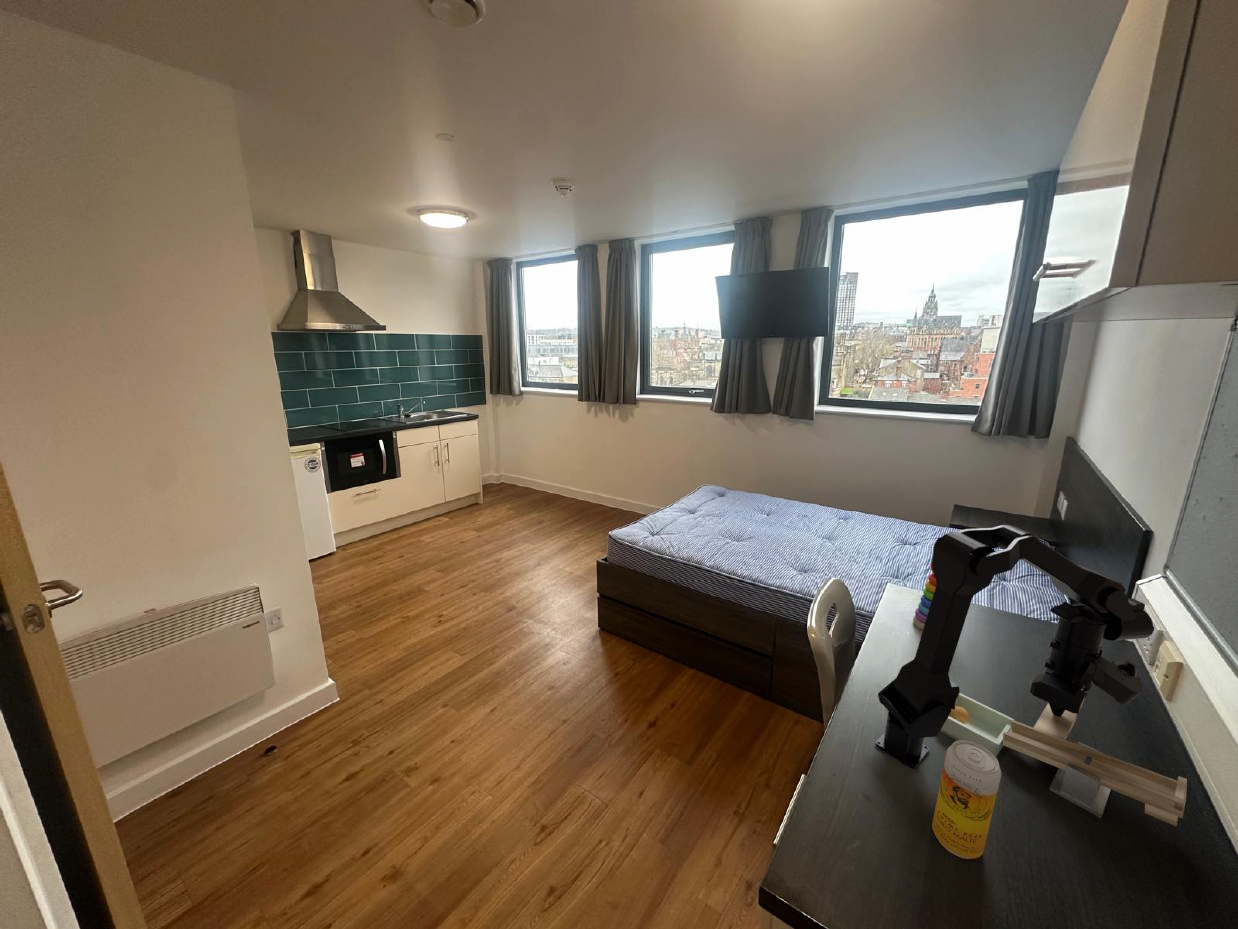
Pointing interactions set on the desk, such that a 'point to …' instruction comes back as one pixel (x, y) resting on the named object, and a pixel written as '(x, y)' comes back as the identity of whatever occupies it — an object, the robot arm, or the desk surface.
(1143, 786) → the lever
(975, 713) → the tray
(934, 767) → the desk surface
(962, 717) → the ball
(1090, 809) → the silver support block
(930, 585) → the stacking toy
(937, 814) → the beer can
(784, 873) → the desk surface
